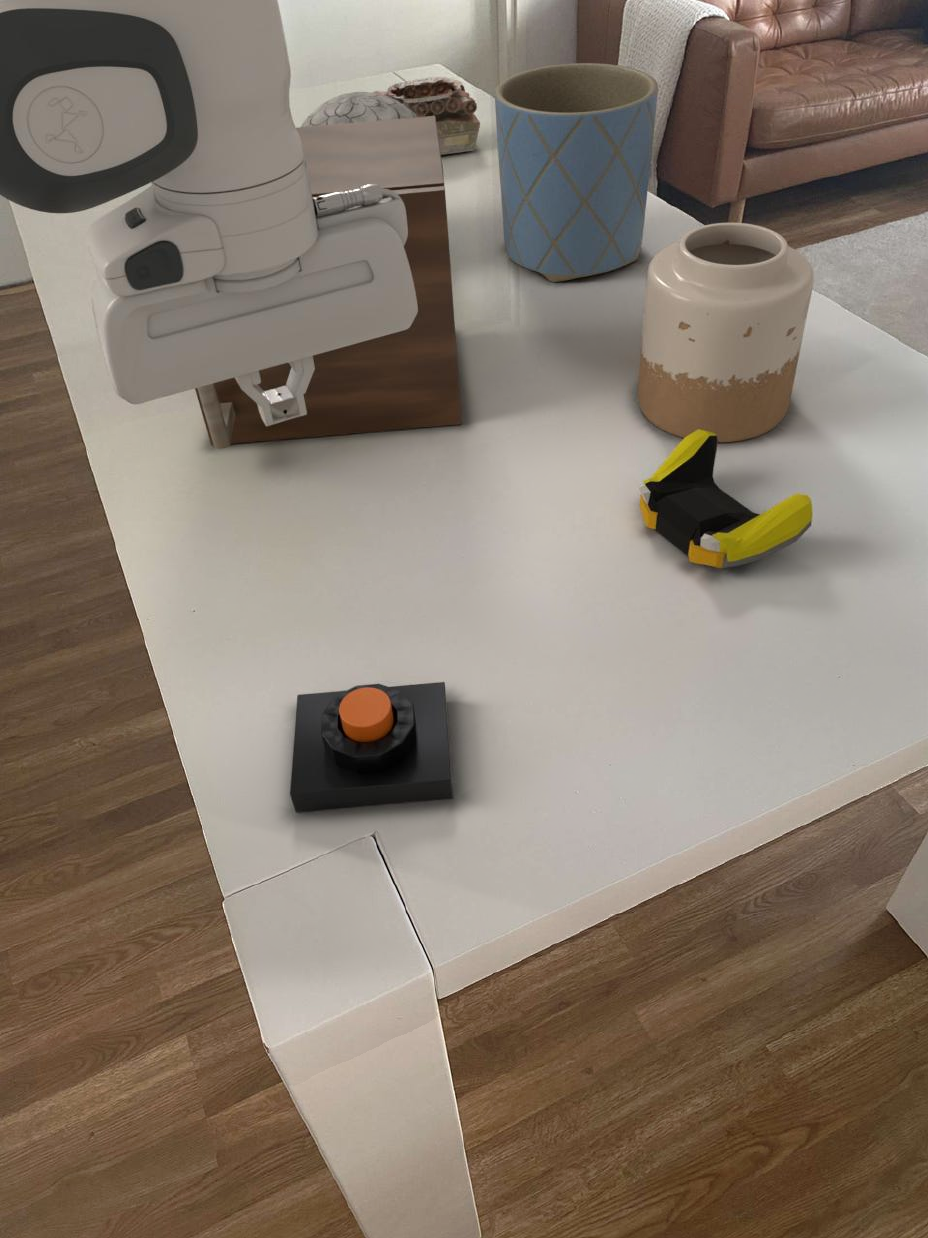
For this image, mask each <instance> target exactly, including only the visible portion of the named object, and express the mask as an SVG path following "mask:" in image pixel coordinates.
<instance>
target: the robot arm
mask: <svg viewBox="0 0 928 1238" xmlns="http://www.w3.org/2000/svg"><path fill="white" fill-rule="evenodd" d="M284 29H285V28H284V25H283V20H282V15H281V10H280V6H279V1H278V0H0V196H1V197H3V198H5V199H6V200H7V201H9V202H12V203H14V204H16V205H18V206H21V207H23V208H26V209H29V210H34V211H37V212H41V213H48V214H73V213H79V212H83V211H87V210H91V209H94V208H96V207H98V206H101V205H103V204H106V203H108V202H111V201H113V200H116V199H118V198H121V197H123V196H125V195H128V194H130V193H131V192H134V191H136V190H138V189H140V188H143V187H145V186H147V185H149V184H151V185H150V186H149V187H147V188H145V189H144V190H142V191H141V192H139V193H138V194H137V195H135V196H133V197H132V198H130V199H129V200H127V201H125V202H124V203H122V204H120V205H119V206H117V207H115V208H113V209H111V211H109V212H107V213H105V214H104V215H102V216H100V217H98V218H97V219H96V220H94V221H93V222H92V223H90V224H89V225H88V227H87V228H86V243H87V249H88V253H89V256H90V259H91V261H92V264H93V267H94V268H95V271H96V272H97V273H96V275H95V276H94V278H93V282H92V286H91V307H92V314H93V320H94V325H95V330H96V335H97V340H98V344H99V347H100V351H101V355H102V359H103V362H104V365H105V368H106V371H107V374H108V377H109V380H110V383H111V386H112V388H113V390H114V392H115V394H116V395H117V396H118V397H119V398H121V399H122V400H124V401H126V402H127V403H129V404H131V405H134V406H135V405H141V404H144V403H147V402H151V401H155V400H158V399H162V398H165V397H169V396H173V395H177V394H181V393H184V392H187V391H191V390H195V388H198V387H202V386H205V385H209V384H213V383H216V382H220V381H223V380H227V379H231V378H234V377H235V379H236V381H237V383H238V384H239V386H240V388H241V389H242V390H243V391H244V392H245V393H246V394H247V395H248V396H249V397H250V398H251V399H253V400H254V401H255V402H256V403H257V405H258V409H259V413H260V415H261V418H262V420H263V422H264V423H265V425H266V426H270V425H273V424H277V423H280V422H283V421H286V420H289V419H293V418H296V417H300V416H303V415H306V414H307V411H306V406H305V401H304V396H303V394H305V392H306V390H307V387H308V385H309V382H310V380H311V377H312V375H313V372H314V370H315V366H314V361H313V355H317V354H320V353H324V352H328V351H331V350H335V349H338V348H342V347H345V346H349V345H353V344H356V343H360V342H363V341H367V340H371V339H374V338H378V337H381V336H385V335H389V334H392V333H396V332H400V331H403V330H406V329H408V328H409V327H410V326H411V324H412V322H413V321H414V319H415V317H416V315H417V312H418V306H417V299H416V292H415V287H414V282H413V278H412V274H411V270H410V266H409V262H408V259H407V255H406V252H405V249H404V245H405V243H406V240H407V236H408V227H407V217H406V208H405V205H404V203H403V200H402V199H401V198H400V196H399V195H398V194H396V193H395V192H394V191H391V190H389V189H381V187H380V185H379V184H368V185H364V186H361V187H358V189H354V190H350V191H344V192H334V193H329V194H325V195H321V196H316V197H312V193H311V187H310V181H309V175H308V169H307V163H306V157H305V151H304V147H303V143H302V140H301V138H300V136H299V134H298V132H297V129H296V128H297V127H296V125H295V123H294V118H293V116H292V112H291V105H290V87H291V77H292V70H291V62H290V57H289V52H288V46H287V39H286V35H285V30H284ZM383 196H388V197H389V198H385V199H383ZM284 363H289V364H290V366H291V370H290V374H289V377H288V380H287V383H286V385H284V386H281V387H278V388H275V389H271V390H267V391H263V390H262V389H261V388H260V387H259V386H258V385H257V384H260V383H261V379H260V374H259V370H263V369H266V368H270V367H274V366H277V365H281V364H284Z"/></svg>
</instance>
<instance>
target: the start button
mask: <svg viewBox="0 0 928 1238" xmlns="http://www.w3.org/2000/svg"><path fill="white" fill-rule="evenodd" d="M339 713H340V718H341V722H342V726H343V730H344V732H345V734H346V735H347V736H348V737H349V738H351V739H352V740H354V741H357V742H363V743H368V742H374V741H377V740H379V739H381V738H383V737H384V736H386V735H387V734H388V733H389V731H390V730H391V728H392V726H393V722H394V718H393V712H392V706H391V701H390V699H389V697H388V695H387V694H386V693H384V692H383V691H381V690H379V689H376V688H370V687H366V688H360V689H357V690H354V691H352V692H350V693H349V694H347V695H346V696H345V697H344V699H343V700H342V701H341V704H340V707H339Z"/></svg>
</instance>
